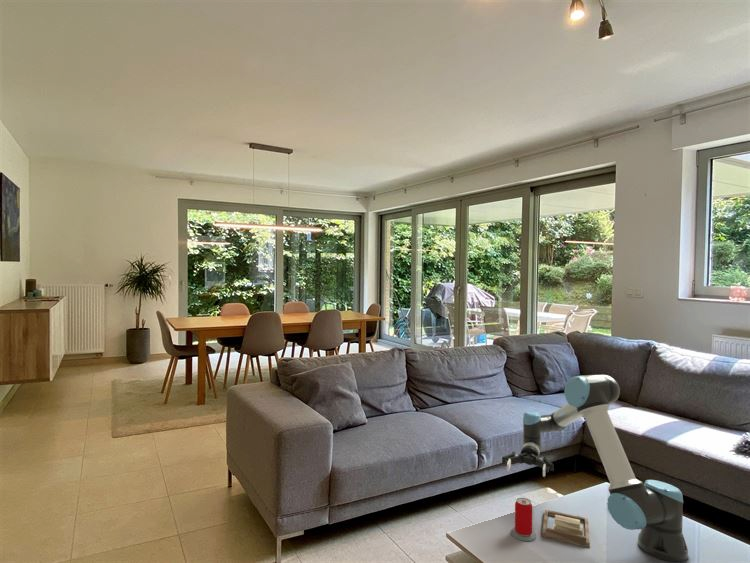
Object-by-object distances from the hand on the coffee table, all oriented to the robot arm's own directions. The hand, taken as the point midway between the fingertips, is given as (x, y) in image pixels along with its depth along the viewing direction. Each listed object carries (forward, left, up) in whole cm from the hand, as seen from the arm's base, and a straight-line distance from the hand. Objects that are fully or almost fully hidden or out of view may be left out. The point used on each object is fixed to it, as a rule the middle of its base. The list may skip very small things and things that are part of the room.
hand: (525, 470), depth 179 cm
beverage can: (-9, +5, -20) cm, 22 cm away
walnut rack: (-7, -14, -20) cm, 25 cm away
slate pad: (-9, +5, -20) cm, 23 cm away
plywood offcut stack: (-11, -12, -20) cm, 26 cm away
